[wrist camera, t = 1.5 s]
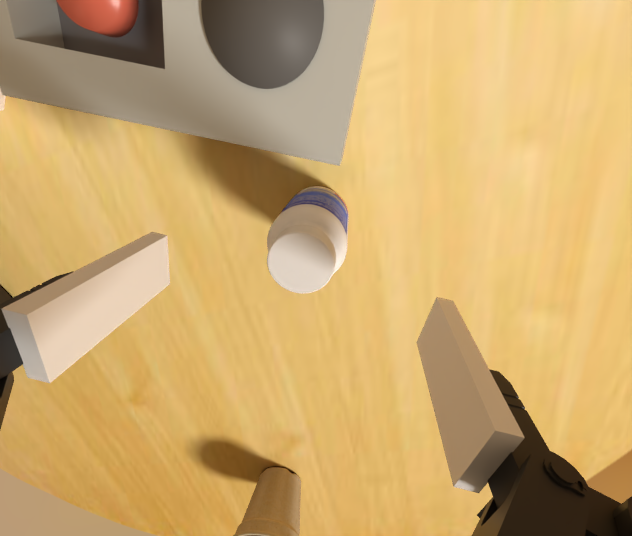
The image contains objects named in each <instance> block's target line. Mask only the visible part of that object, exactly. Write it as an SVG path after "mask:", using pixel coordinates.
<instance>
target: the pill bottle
mask: <svg viewBox="0 0 632 536" xmlns="http://www.w3.org/2000/svg"><path fill="white" fill-rule="evenodd" d="M347 237H348V209H347V206H346V204H345V202H344V201H343V199H342V198H341V197H340V196H339V195H338V194H337V193H336V192H334V191H333V190H331V189H328V188H326V187H321V186H312V187H308V188H305V189H303V190H301V191H300V192H298V193H297V194H296V195H295V196H294V197H293V198H292V199H291V201H290V202H289V203H288V204H287V205H286V207H285V208H284V209H283V210H282V212H281V213H280V214H279V215H278V216H277V218H276V219H275V221H274V222H273V224H272V225H271V227H270V230H269V233H268V238H267V247H268V256H267V264H268V269H269V271H270V274H271V275H272V277H273V279H274V280H275V281H276V282H277V283H278V284H279V285H280V286H282V287H283V288H285V289H287V290H289V291H292V292H295V293H311V292H314V291H317V290H319V289H321V288H322V287H324V286H325V285H326V284H327V283H328V282H329V280H330V279H331V277H332V275H333V274H334V273H335V272H336V271H337V270H338V269H339V268H340V266H341V265H342V263H343V261H344V259H345V257H346V253H347Z"/></svg>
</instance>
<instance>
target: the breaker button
mask: <svg viewBox="0 0 632 536" xmlns="http://www.w3.org/2000/svg"><path fill="white" fill-rule="evenodd" d="M57 2H58V4H59V6H60V7H61V9H62V10H63V11H64V13H65V14H66V15H67V16H68V17H69V18H70V19H71V20H72V21H74V22H75V23H76V24H78V25H79V26H81V27H83V28H85V29H88V30H91V31H94V32H97V33H99V34H102V35H105V36H108V37H114V38H116V37H122V36H124V35H126V34H127V33H129V32H130V31H131V29H132V28H133V26H134V25H135V22H136V20H137V16H138V8H139V6H138V0H57Z"/></svg>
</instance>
